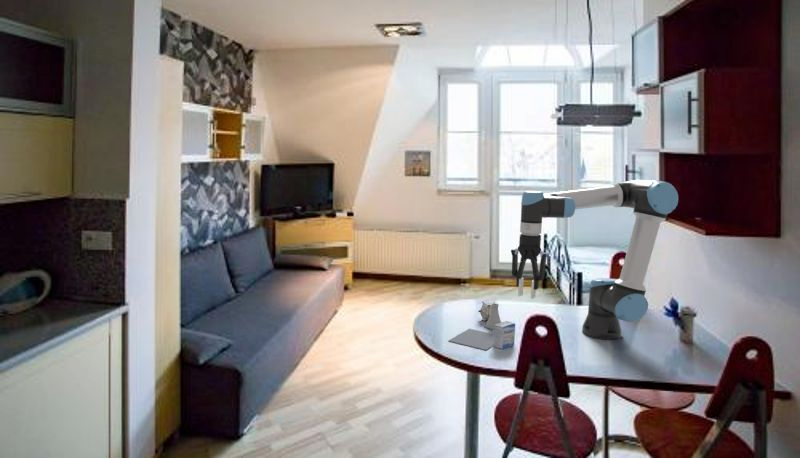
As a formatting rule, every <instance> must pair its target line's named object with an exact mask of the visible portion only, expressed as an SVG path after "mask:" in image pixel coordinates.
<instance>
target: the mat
mask: <svg viewBox="0 0 800 458" xmlns="http://www.w3.org/2000/svg"><path fill="white" fill-rule="evenodd" d="M448 342H450V343H454V344H458V345H462V346H467V347H469V348H474V349H478V350H482V351H489V349H490V348H492V347H494V346H493V333H490V332H485V331H481V330H478V329H472V328H468V329H467V330H464V331H463V332H461V333H459V334H457V335H456V336H454V337H452V338H451V339H448Z"/></svg>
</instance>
